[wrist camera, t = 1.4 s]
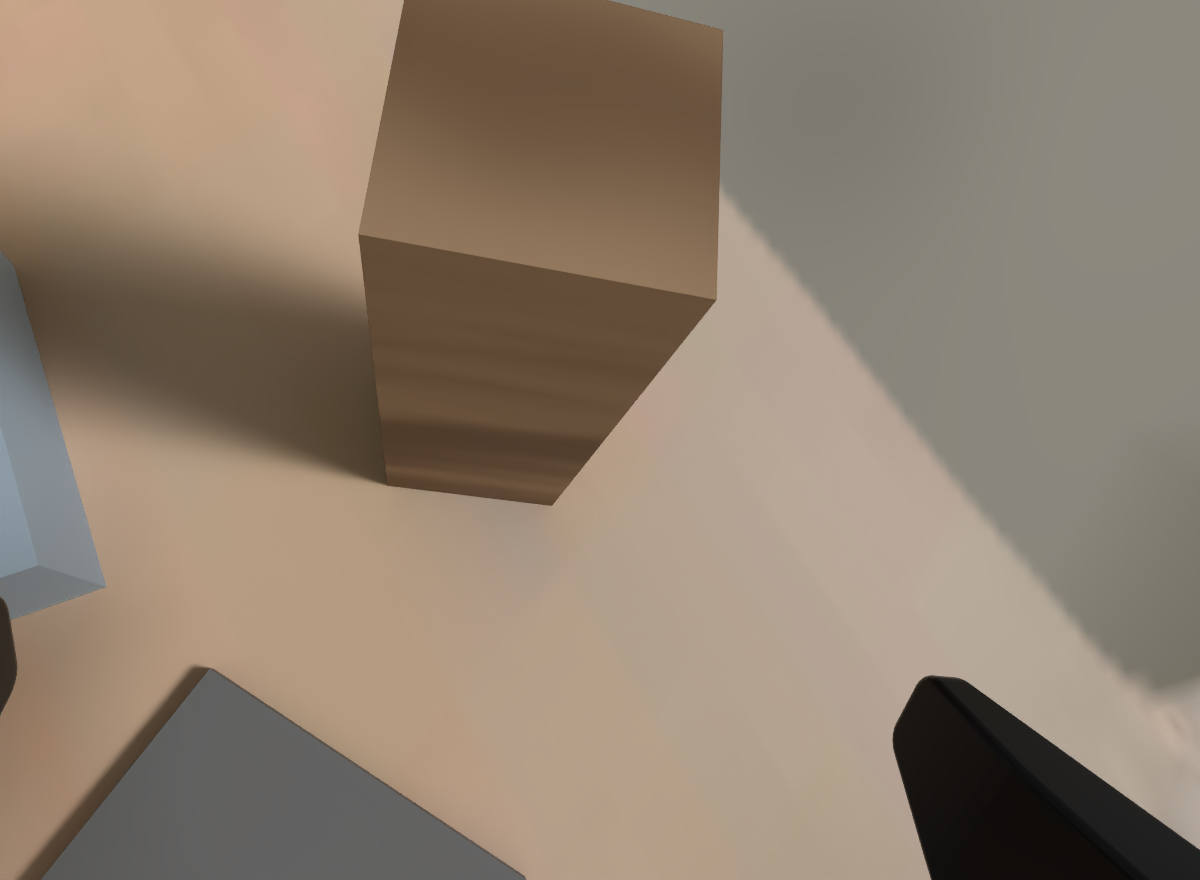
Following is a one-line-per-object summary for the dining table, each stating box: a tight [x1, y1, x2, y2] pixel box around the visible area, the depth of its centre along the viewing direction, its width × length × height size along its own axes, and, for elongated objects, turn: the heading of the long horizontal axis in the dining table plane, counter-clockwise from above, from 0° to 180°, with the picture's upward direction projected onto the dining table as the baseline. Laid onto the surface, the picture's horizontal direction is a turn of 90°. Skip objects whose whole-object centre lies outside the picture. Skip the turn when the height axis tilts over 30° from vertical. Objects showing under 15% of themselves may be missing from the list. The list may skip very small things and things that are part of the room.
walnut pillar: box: [359, 0, 723, 506], centre depth 16 cm, size 4×4×12 cm
